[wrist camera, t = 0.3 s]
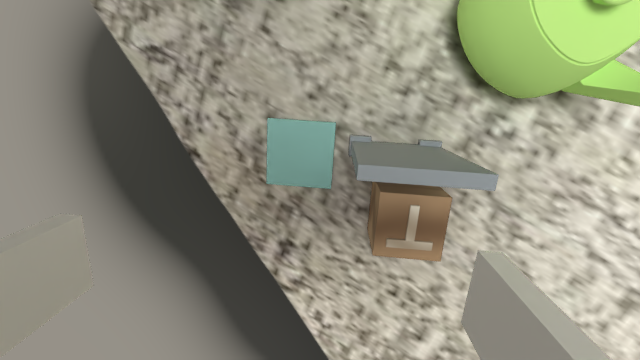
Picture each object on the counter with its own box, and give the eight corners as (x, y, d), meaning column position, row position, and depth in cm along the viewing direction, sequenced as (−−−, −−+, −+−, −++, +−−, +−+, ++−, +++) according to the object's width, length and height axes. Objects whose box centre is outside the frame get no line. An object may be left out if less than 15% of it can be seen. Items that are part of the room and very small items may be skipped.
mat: (268, 117, 35) (267, 118, 35) (335, 122, 35) (335, 122, 34) (267, 182, 37) (266, 183, 37) (331, 187, 37) (330, 188, 37)
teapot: (622, 64, 31) (801, 41, 19) (506, 142, 34) (598, 165, 22) (526, -112, 28) (668, -274, 16) (406, -10, 31) (449, -82, 19)
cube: (373, 175, 36) (380, 192, 29) (431, 179, 36) (453, 198, 29) (367, 228, 38) (373, 256, 31) (422, 232, 38) (441, 262, 31)
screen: (350, 134, 35) (356, 156, 22) (439, 140, 35) (503, 166, 21) (348, 154, 36) (353, 187, 22) (436, 161, 35) (496, 198, 22)
